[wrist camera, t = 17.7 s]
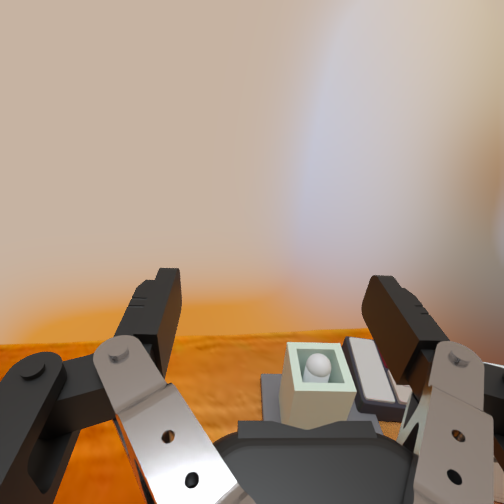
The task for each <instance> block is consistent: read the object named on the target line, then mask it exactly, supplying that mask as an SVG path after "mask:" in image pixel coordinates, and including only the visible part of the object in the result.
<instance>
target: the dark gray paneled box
mask: <svg viewBox="0 0 504 504" xmlns="http://www.w3.org/2000/svg"><path fill="white" fill-rule="evenodd" d="M342 351H343V353H344V356H345V359H346V362H347V365H348V368H349V370H350V373H351V376H352V379H353V382H354V385H355V388H356V390H357V393H356V396H355V398H354V400H355V405H356V409H357V411H358V412H360V413H365V414H375V415H376V417H377V420H378V421H385V422H390V421H395V422H402V420H403V416H404V412H405V409H406V405H407V401H408V398H409V395H410V393H411V391H412V389H411V387H410V385H396V383H395V381H394V379H393V377H392V375H391V373H390V371H389V369H388V367H387V365H386V363H385V361H384V359H383V357H382V355H381V353H380V351H379V349H378V347H377V345H376V343H375V341H374V340H371V339H363V338H355V337H345V339H344V342H343V345H342Z"/></svg>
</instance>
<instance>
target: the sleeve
mask: <svg viewBox="0 0 504 504" xmlns="http://www.w3.org/2000/svg"><path fill="white" fill-rule="evenodd" d="M316 353H320V354H323V355H325V356H326V357H327V358H328V359H329V361H330V363H331V373H330V376H329V380H328V383H305V382H302V380H303V375H304V370H305V366H306V362H307V359H308V358H309V357H310V356H311V355H312V354H316ZM356 393H357V390H356V388H355V385H354V382H353V379H352V376H351V373H350V370H349V368H348V365H347V362H346V359H345V356H344V353H343V351H342V348H341V345H340V343H302V342H287V347H286V353H285V359H284V366H283V372H282V378H281V384H280V391H279V407H280V417H281V423H282V424H286V425H290V426H293V427H297V428H301V429H305V430H310V429H313V428H317V427H320V426H323V425H327V424H330V423H334V422H337V421H346V420H347V417H348V415H349V412H350V409H351V407H352V404H353V401H354V398H355V396H356Z"/></svg>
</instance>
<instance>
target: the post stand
mask: <svg viewBox="0 0 504 504" xmlns="http://www.w3.org/2000/svg"><path fill="white" fill-rule="evenodd" d="M330 373H331V363H330V361H329V359H328V358H327V357H326V356H325V355H323V354H320V353H316V354H312V355H311V356H310V357H309V358H308V359H307V362H306V366H305V370H304V375H303V380H302V382H305V383H328V380H329V376H330ZM281 378H282V374H261V396H262V415H263V421H274V422H278V423H281V417H280V407H279V391H280V384H281ZM346 421H372V424H373V427H374V429H375V432H376V433H379V434H382V435H383V433H382V430H381V427H380V425H379V422H378V420H377V417H376V415H375V414H365V413H360V412H358V411H357V409H356V405H355V400H354V401H353V404H352V407H351V409H350V412H349V415H348V417H347V420H346Z"/></svg>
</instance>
